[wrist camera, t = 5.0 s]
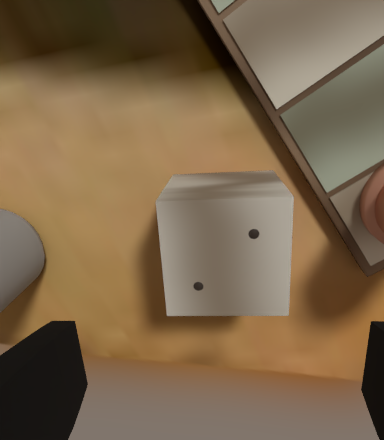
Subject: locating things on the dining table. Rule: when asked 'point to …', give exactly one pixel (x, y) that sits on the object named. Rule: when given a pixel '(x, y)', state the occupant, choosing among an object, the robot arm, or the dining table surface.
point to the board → (318, 94)
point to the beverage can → (18, 256)
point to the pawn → (374, 204)
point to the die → (226, 244)
